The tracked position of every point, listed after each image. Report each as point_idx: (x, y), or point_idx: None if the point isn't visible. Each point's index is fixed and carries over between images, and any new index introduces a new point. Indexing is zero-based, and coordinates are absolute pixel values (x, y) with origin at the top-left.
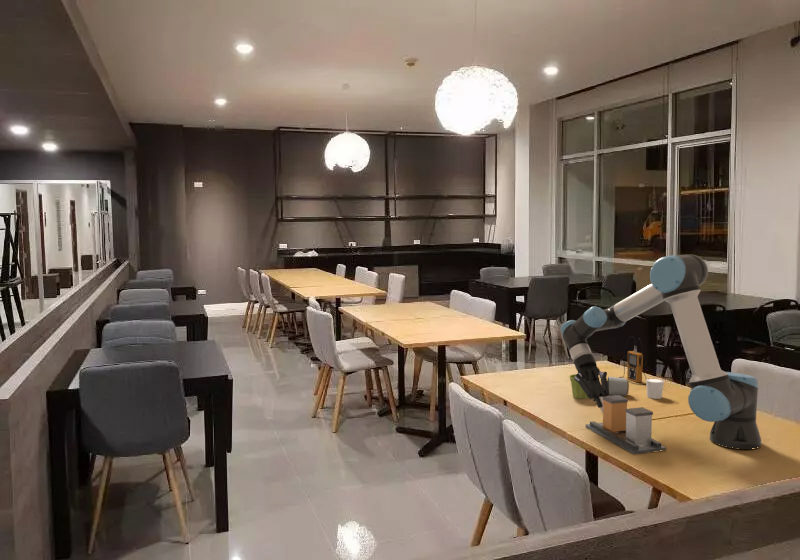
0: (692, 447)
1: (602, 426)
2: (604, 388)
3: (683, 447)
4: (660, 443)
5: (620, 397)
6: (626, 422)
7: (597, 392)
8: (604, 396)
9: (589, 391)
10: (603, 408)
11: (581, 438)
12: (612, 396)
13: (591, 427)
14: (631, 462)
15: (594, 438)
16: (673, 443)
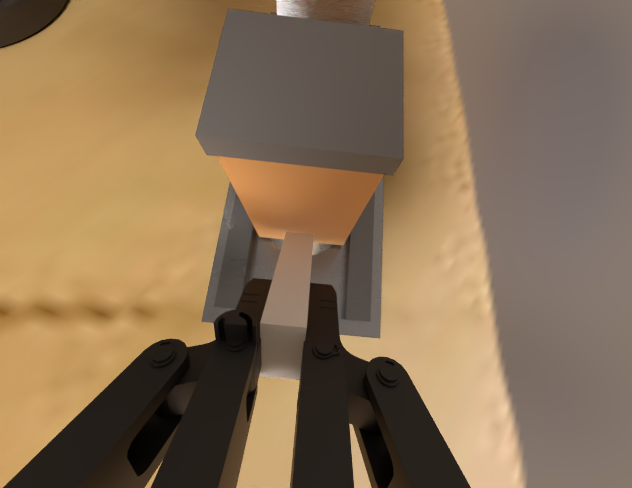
0: (162, 16)
1: (354, 232)
2: (110, 478)
3: (188, 26)
4: (275, 13)
5: (249, 68)
6: (370, 16)
7: (309, 390)
8: (381, 154)
9: (433, 428)
10: (365, 203)
11: (470, 218)
12: (300, 122)
13: (379, 284)
14: (426, 10)
15: (420, 198)
16: (185, 59)
